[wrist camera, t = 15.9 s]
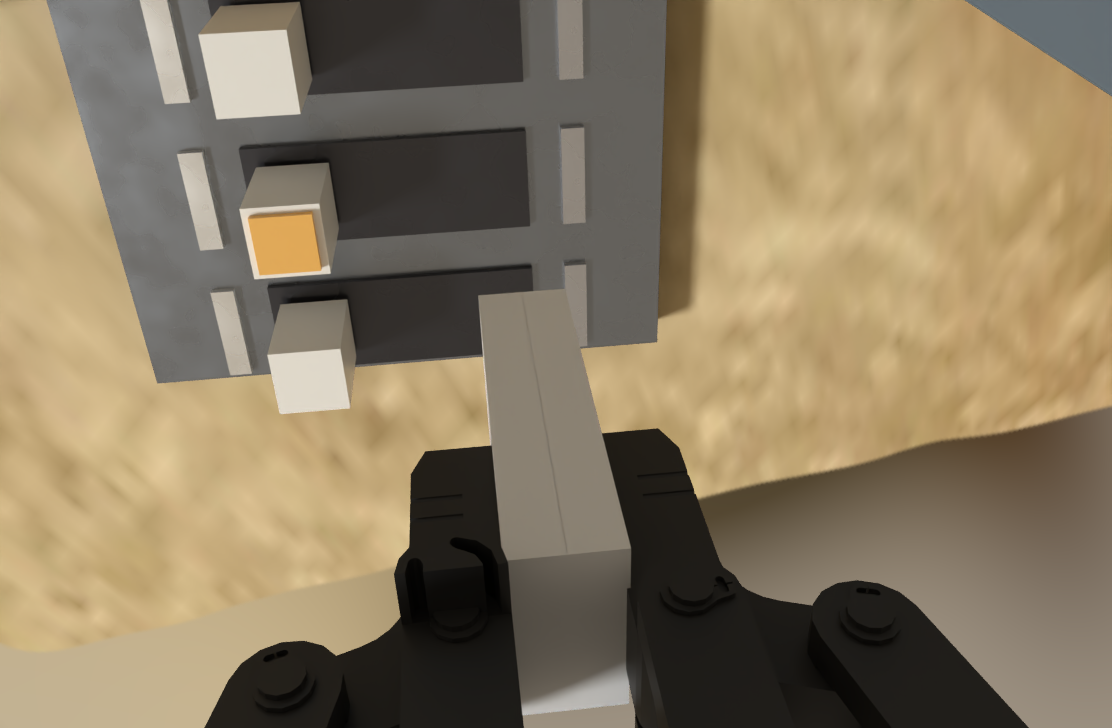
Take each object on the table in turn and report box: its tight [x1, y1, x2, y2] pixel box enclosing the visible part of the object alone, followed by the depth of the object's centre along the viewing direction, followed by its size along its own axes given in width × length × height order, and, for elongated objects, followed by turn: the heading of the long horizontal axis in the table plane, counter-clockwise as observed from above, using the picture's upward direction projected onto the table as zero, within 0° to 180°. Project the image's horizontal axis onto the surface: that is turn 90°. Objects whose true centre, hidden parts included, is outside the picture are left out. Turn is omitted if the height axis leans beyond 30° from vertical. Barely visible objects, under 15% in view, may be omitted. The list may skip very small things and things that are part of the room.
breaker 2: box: [267, 299, 356, 414], centre depth 44 cm, size 3×3×4 cm
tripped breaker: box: [239, 163, 339, 279], centre depth 41 cm, size 3×3×5 cm
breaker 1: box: [198, 2, 312, 119], centre depth 37 cm, size 3×3×4 cm
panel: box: [47, 0, 667, 383], centre depth 44 cm, size 18×24×2 cm
